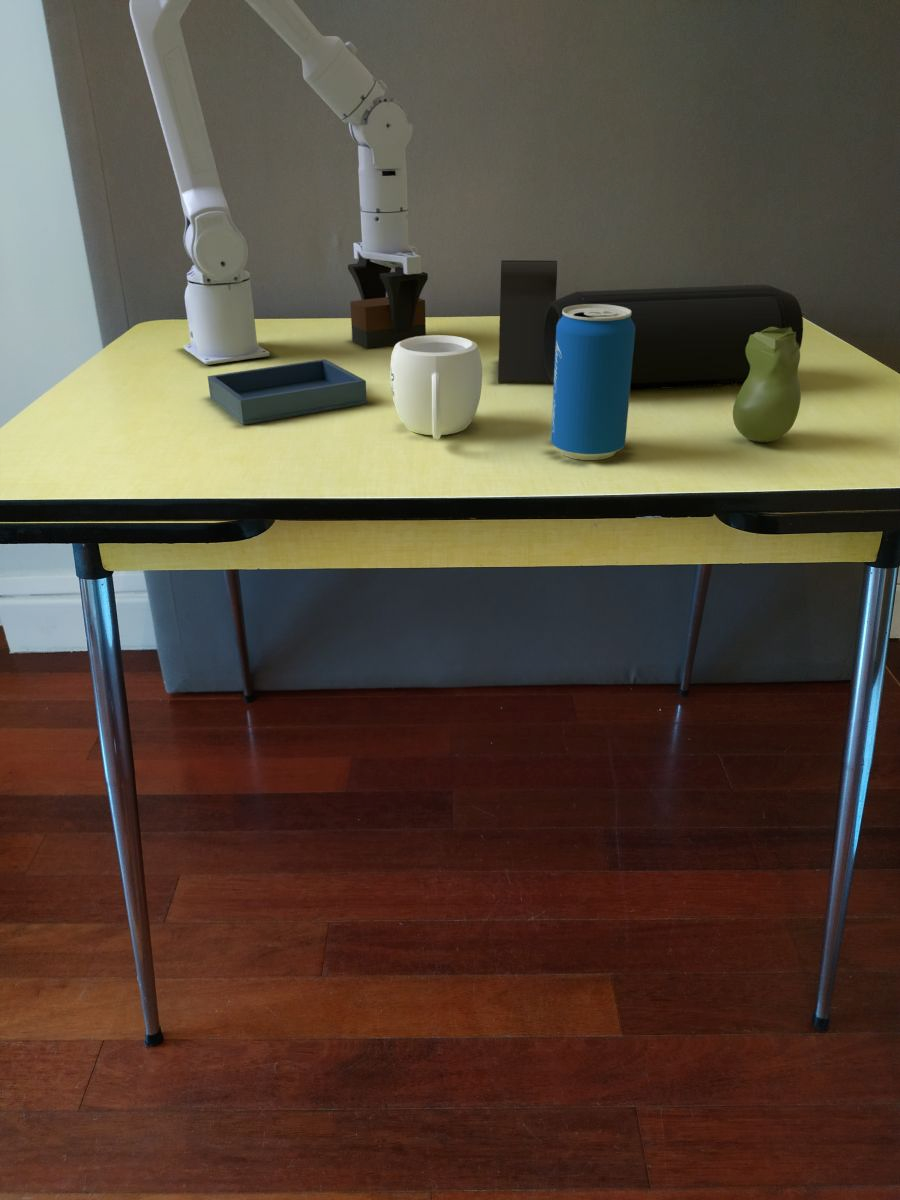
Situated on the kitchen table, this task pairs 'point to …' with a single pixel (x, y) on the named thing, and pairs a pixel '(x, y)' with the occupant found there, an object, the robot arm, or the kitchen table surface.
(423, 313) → the eraser
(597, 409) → the beverage can
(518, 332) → the phone stand
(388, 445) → the kitchen table surface
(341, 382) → the tray
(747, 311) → the portable speaker
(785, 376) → the pear
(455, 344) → the mug
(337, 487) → the kitchen table surface
